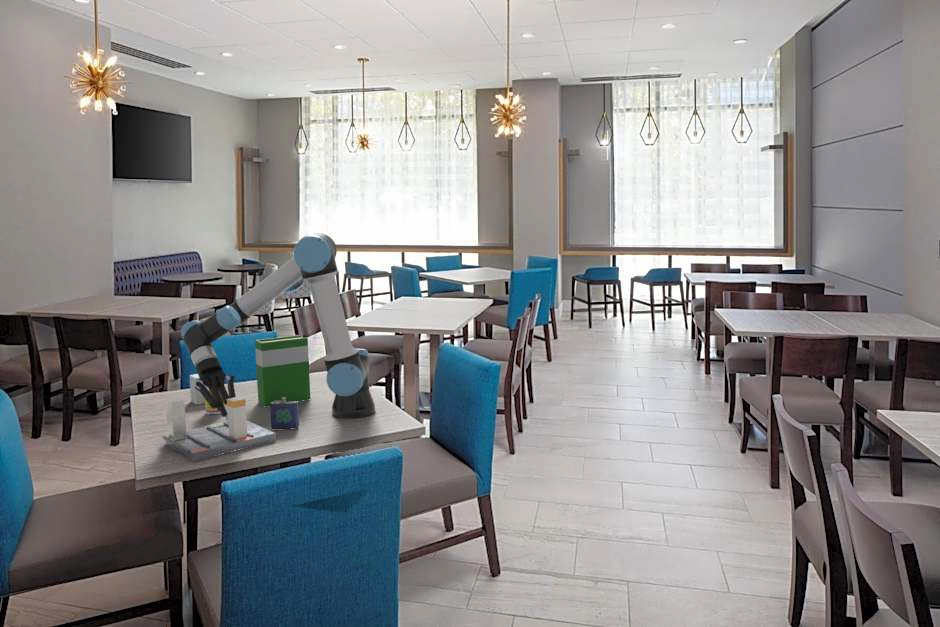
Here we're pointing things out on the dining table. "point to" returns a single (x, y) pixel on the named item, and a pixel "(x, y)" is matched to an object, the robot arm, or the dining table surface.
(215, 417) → the dining table surface
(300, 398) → the hardback book
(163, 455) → the dining table surface
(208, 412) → the supplement bottle
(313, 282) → the robot arm
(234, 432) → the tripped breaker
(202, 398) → the skincare box
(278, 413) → the flask
